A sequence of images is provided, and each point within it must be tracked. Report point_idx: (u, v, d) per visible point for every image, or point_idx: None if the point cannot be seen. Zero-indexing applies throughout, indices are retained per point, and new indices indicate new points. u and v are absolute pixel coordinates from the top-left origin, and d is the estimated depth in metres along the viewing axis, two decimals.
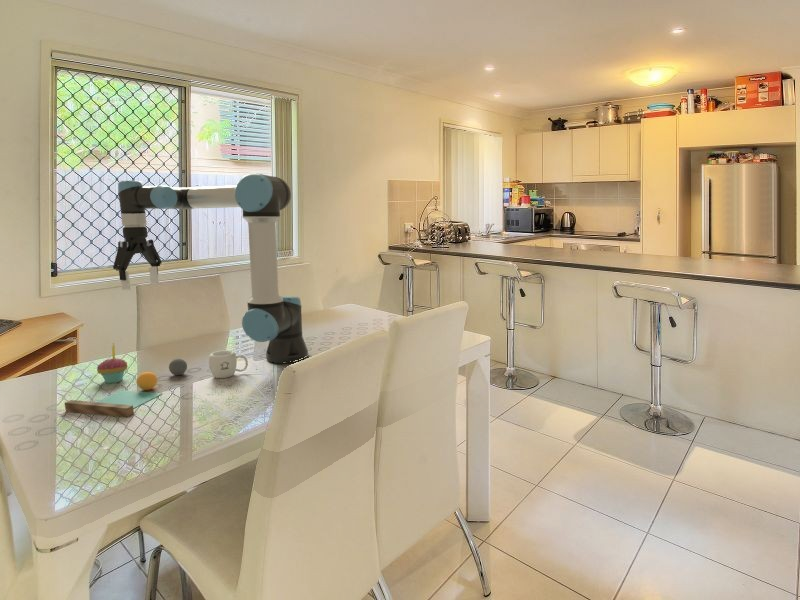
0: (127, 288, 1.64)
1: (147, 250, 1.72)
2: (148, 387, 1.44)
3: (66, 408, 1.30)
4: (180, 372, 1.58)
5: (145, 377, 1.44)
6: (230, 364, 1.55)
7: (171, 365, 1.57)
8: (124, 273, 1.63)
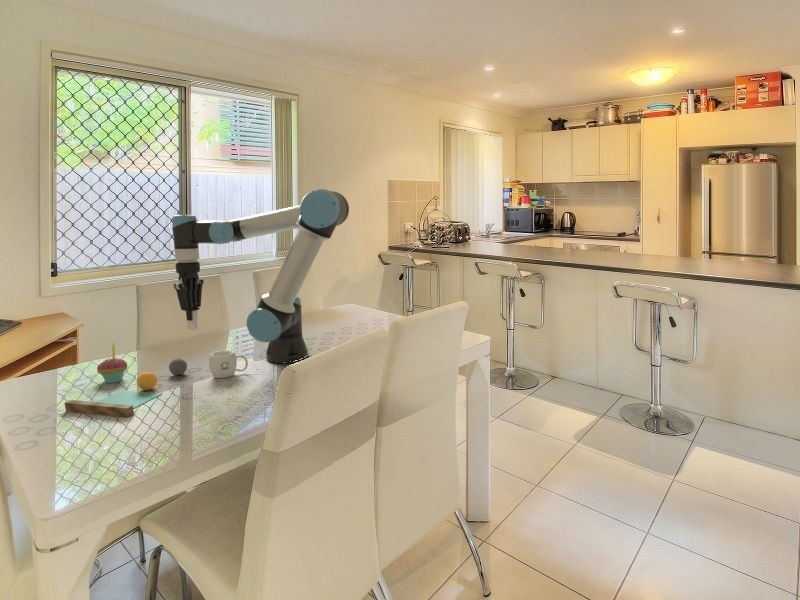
0: (193, 328, 1.66)
1: (196, 287, 1.65)
2: (148, 387, 1.44)
3: (66, 408, 1.30)
4: (180, 372, 1.58)
5: (145, 377, 1.44)
6: (230, 364, 1.55)
7: (171, 365, 1.57)
8: (191, 313, 1.65)
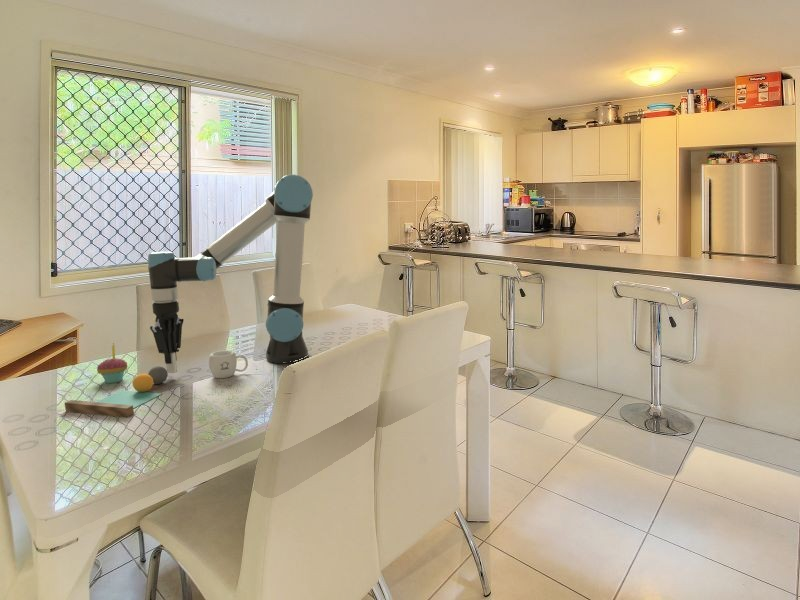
0: (172, 371, 1.56)
1: (174, 328, 1.55)
2: (147, 390, 1.44)
3: (66, 408, 1.30)
4: (166, 370, 1.52)
5: (140, 385, 1.42)
6: (230, 364, 1.55)
7: None
8: (170, 356, 1.55)
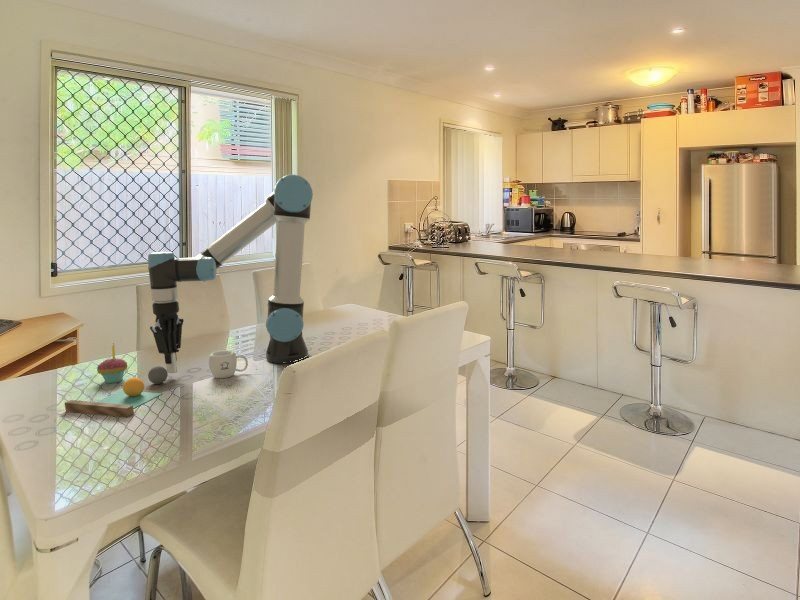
0: (172, 371, 1.56)
1: (175, 328, 1.55)
2: None
3: (66, 408, 1.30)
4: (166, 370, 1.52)
5: None
6: (230, 364, 1.55)
7: None
8: (170, 356, 1.55)
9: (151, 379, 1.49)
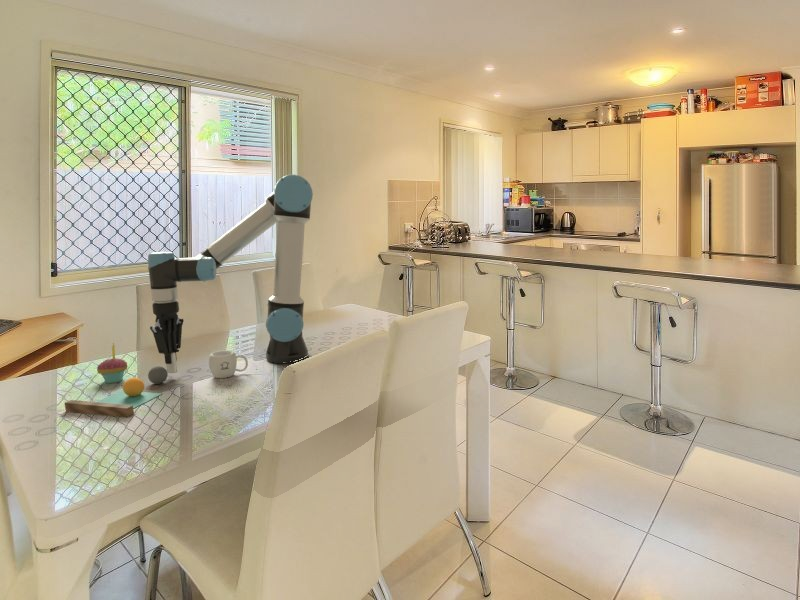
0: (172, 371, 1.56)
1: (175, 328, 1.55)
2: None
3: (66, 408, 1.30)
4: (166, 370, 1.52)
5: None
6: (230, 364, 1.55)
7: None
8: (170, 356, 1.55)
9: (151, 379, 1.49)
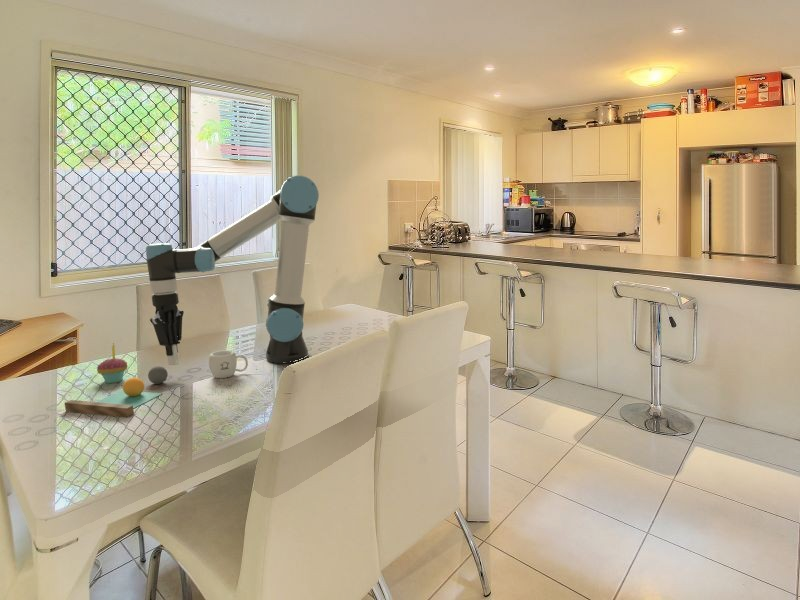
0: (174, 363, 1.55)
1: (175, 320, 1.55)
2: None
3: (66, 408, 1.30)
4: (166, 370, 1.52)
5: None
6: (230, 364, 1.55)
7: None
8: (171, 348, 1.54)
9: (151, 379, 1.49)
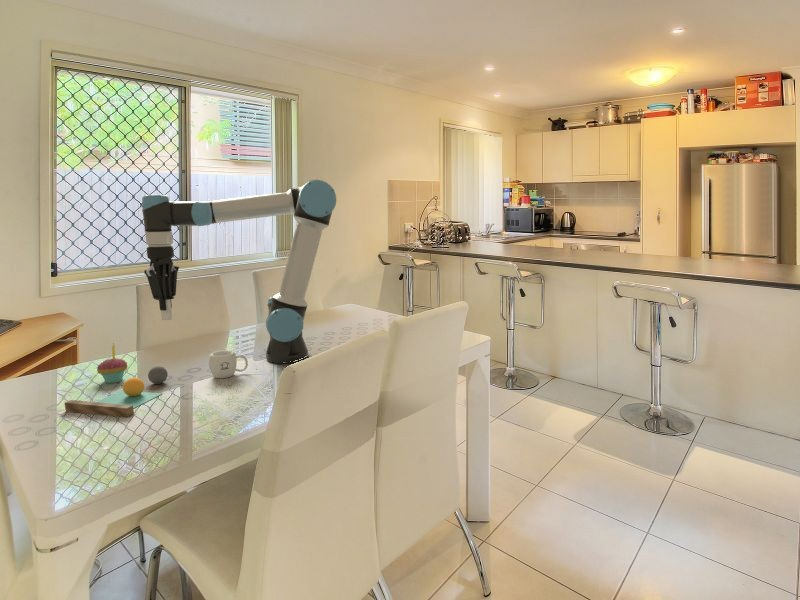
0: (167, 318, 1.53)
1: (169, 274, 1.52)
2: None
3: (66, 408, 1.30)
4: (166, 370, 1.52)
5: None
6: (230, 364, 1.55)
7: None
8: (164, 303, 1.52)
9: (151, 379, 1.49)
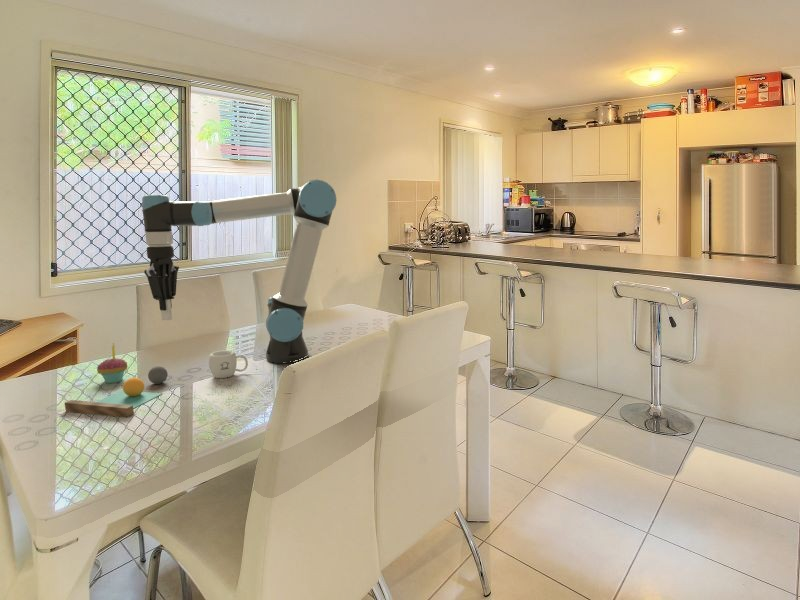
0: (167, 318, 1.53)
1: (169, 274, 1.52)
2: None
3: (66, 408, 1.30)
4: (166, 370, 1.52)
5: None
6: (230, 364, 1.55)
7: None
8: (164, 303, 1.52)
9: (151, 379, 1.49)
